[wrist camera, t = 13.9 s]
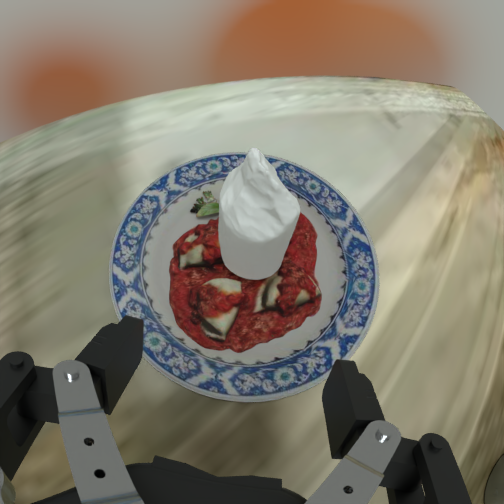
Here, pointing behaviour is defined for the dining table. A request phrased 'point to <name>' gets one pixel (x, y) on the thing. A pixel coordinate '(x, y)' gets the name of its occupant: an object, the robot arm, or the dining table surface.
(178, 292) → the ceramic plate
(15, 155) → the dining table surface
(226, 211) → the white peaked cylinder
